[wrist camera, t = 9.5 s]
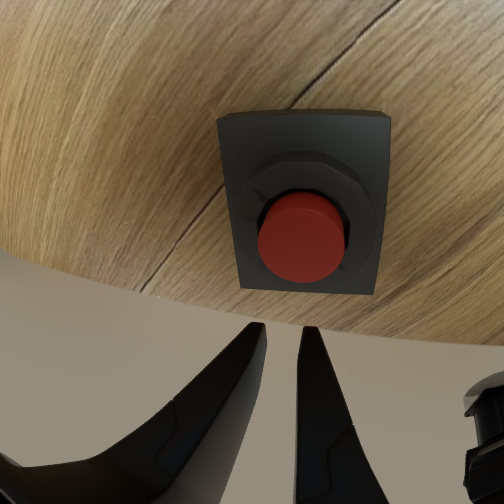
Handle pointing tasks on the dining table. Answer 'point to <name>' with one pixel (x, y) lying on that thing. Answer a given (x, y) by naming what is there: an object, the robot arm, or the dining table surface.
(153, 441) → the robot arm
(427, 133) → the dining table surface
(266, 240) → the button
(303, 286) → the button block
